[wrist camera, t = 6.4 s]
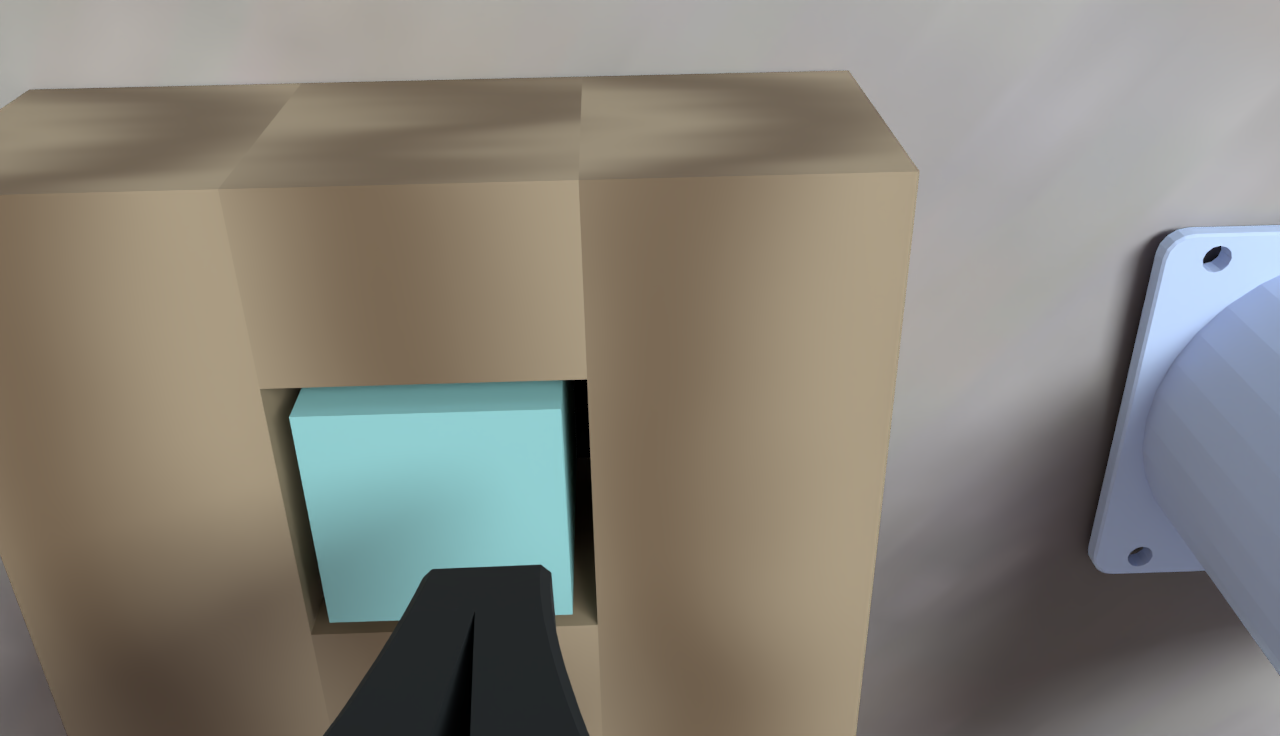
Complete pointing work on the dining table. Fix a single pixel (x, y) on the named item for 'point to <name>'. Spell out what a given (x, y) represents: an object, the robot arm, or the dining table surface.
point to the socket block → (451, 376)
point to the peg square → (435, 486)
